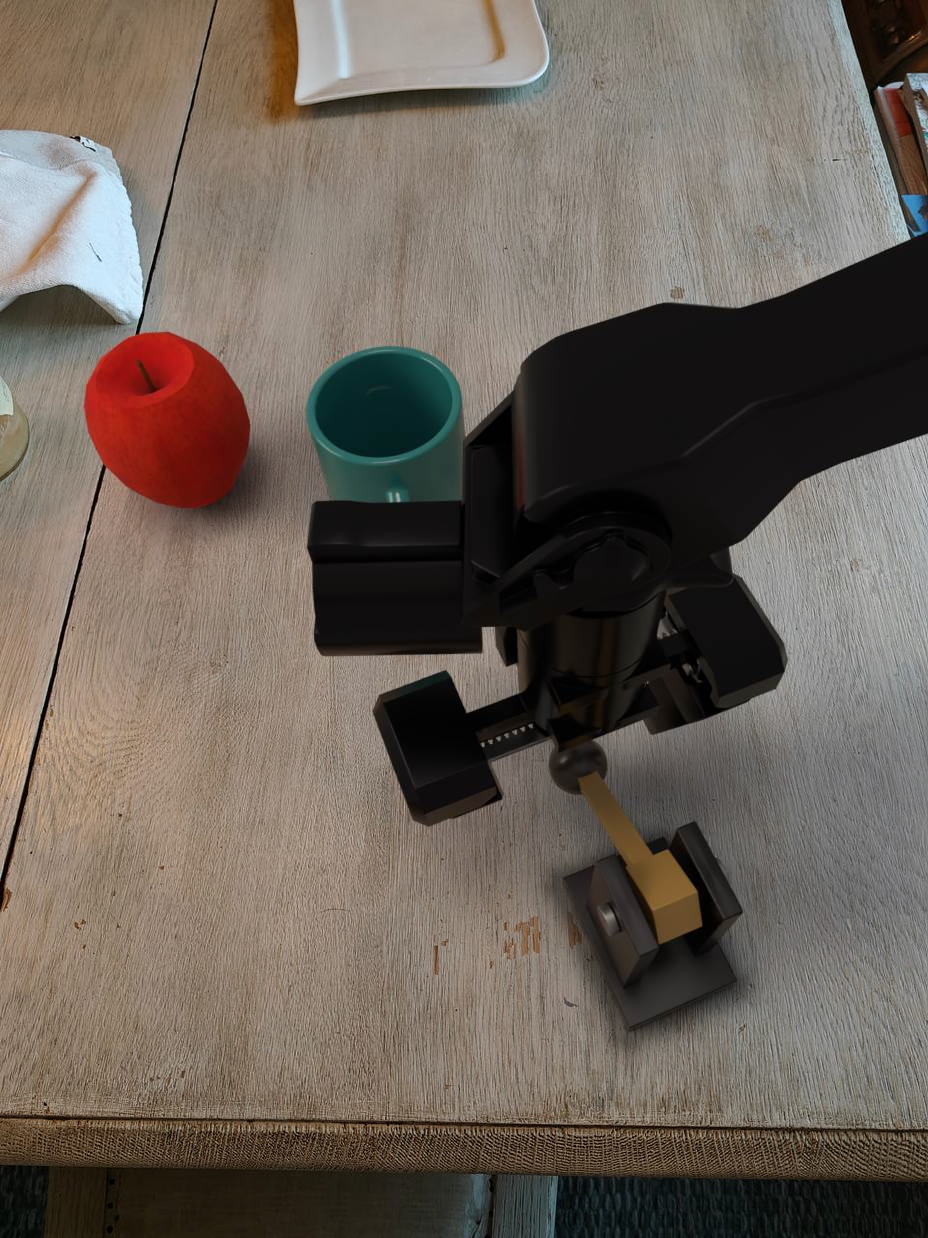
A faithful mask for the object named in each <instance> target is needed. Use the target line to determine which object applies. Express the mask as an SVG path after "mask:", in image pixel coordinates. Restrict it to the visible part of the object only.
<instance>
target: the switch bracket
mask: <svg viewBox="0 0 928 1238" xmlns="http://www.w3.org/2000/svg"><path fill="white" fill-rule="evenodd" d="M645 844H646V845H647V846H648V848H649V849H650V851H651V852H652V854H653V855H655V854H658V853H660V852H662V851H665V850H667V849H668V850H669V851H670V852H671V854H672V855H673V857H674V858H675V860H676V861H677V863H678V864H679V865H680V867H681V868H682V870H683V871H684V873H685V874H686V875H687V877H688V878H689V880H690V881H691V883H692V884H693V885H694V887H695V888H696V890H697V891H698V898H699V905H700V912H701V919H702V927H699V928H697V929H695V930H692V931H690V932H688V933H685V934H683V935H681V936H678V937H676V938H674V939H671V940H669V941H667V942H664V943H662V944H658V942H657V940H656V938H655V936H654V933H653V931H652V929H651V927H650V925H649V923H648V921H647V919H646V917H645V915H644V913H643V910H642V908H641V906H640V904H639V902H638V900H637V898H636V896H635V894H634V892H633V889H632V887H631V885H630V883H629V881H628V877H627V872H626V866H628V865H627V864H626V862H625V861H624V859H623V857H622V856H621V854H620V853H619V854H616V853H614V854H611V855H608V856H606V857H604V858H602V859H601V858H600V859H598V860H596V861H595V864H593V865H590V866H588V867H586V868H583V869H581V870H578V871H576V872H574V873H571V874H569V875H566V876H564V877H563V878H562V886H563V888H564V891H565V893H566V896H567V898H568V900H569V903H570V904H571V906H572V909H573V911H574V913H575V916H576V918H577V920H578V923H579V925H580V927H581V929H582V932H583V934H584V937H585V939H586V941H587V943H588V945H589V949H590V950H591V952H592V954H593V956H594V960H595V961H596V963H597V966H598V968H599V970H600V972H601V975H602V977H603V979H604V981H605V984H606V986H607V989H608V990H609V993H610V996H611V998H612V1000H613V1002H614V1004H615V1007H616V1009H617V1011H618V1013H619V1016H620V1017H621V1020H622V1022H623V1025H624V1027H625V1030H626V1031H627V1032H630V1031H633V1030H634V1029H636V1028H638V1027H640V1026H643V1025H645V1024H647V1023H651V1022H653V1021H655V1020H657V1019H659V1018H661V1017H663V1016H666V1015H668V1014H671V1013H672V1012H675V1011H677V1010H680V1009H682V1008H684V1007H686V1006H689V1005H691V1004H693V1003H695V1002H698V1001H700V1000H702V999H704V998H707V997H710V996H712V995H714V994H716V993H719V992H721V991H723V990H725V989H727V988H730V987H732V986H734V985H735V984H736V983H738V978H737V976H736V974H735V973H734V970H733V968H732V967H731V965H730V963H729V960H728V958H727V957H726V955H725V953H724V950H723V949H722V947H721V944H720V942H719V941H720V940H721V939H722V938H723V937H724V935H725V934H726V933H727V932H728V931H729V930H730V929H731V928H732V926H733V925H734V924H735V923H736V922H737V921H738V919H739V918H740V917H741V916H742V915H743V914H744V909H743V907H742V906H741V903H740V901H739V899H738V898H737V895H736V894H735V892H734V890H733V888H732V886H731V879H730V875H729V872H728V870H727V868H726V866H725V864H724V863H723V862H722V860H721V859H720V858H719V857H717V856H715V854H714V852H713V850H712V848H711V847H710V845H709V843H708V841H707V839H706V837H705V836H704V834H703V832H702V829H701V827H700V826H699V824H698V822H697V821H696V820H695V821H691V822H688V823H685V824H684V825H681V826H679V827H677V828H676V829H675V832H674V834H673V837H672V839H671V841H670V843H668V841H667V839H666V837H665V836H660V837H658V838H656V839H653V840H651V841H648V842H647V843H646V842H645Z"/></svg>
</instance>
